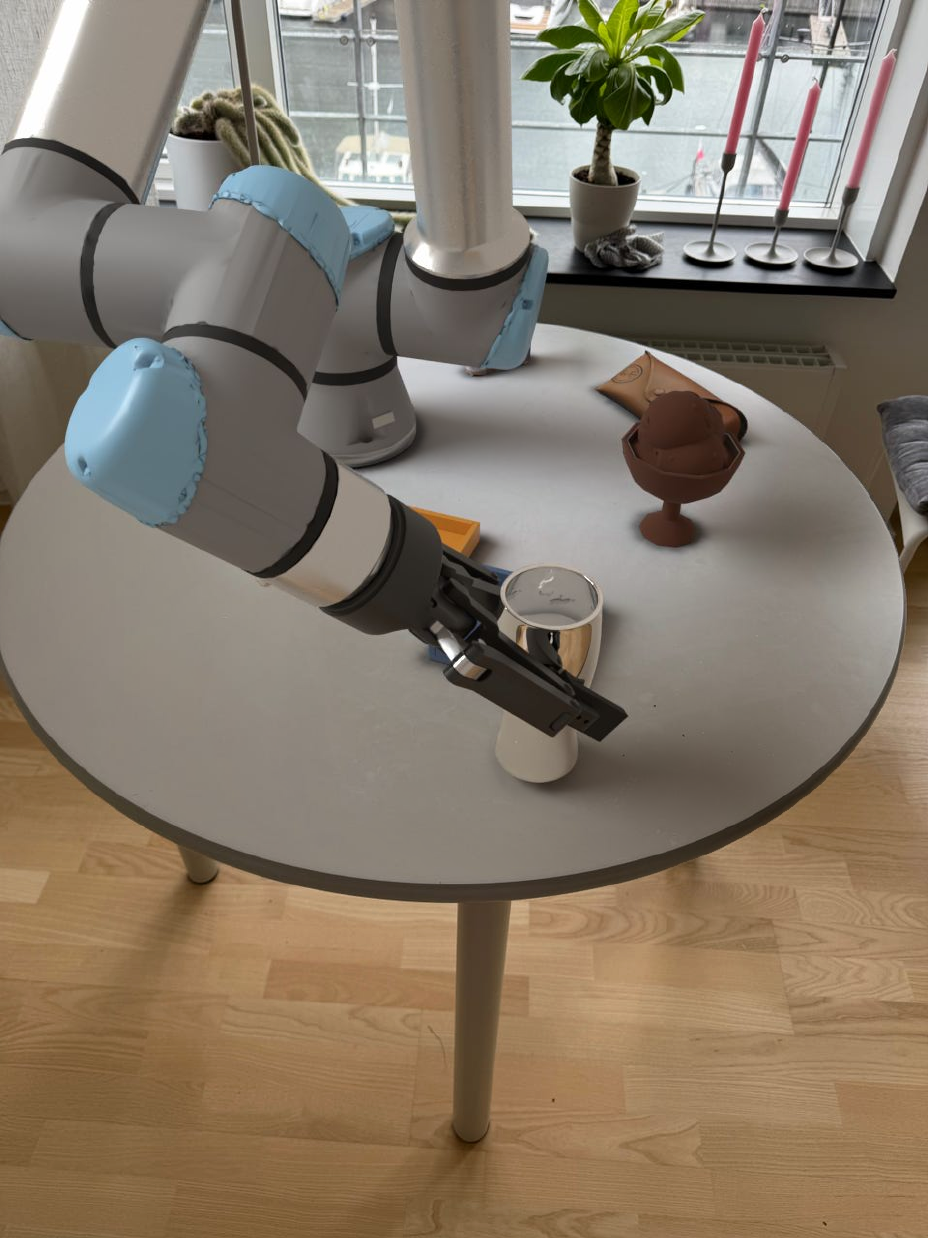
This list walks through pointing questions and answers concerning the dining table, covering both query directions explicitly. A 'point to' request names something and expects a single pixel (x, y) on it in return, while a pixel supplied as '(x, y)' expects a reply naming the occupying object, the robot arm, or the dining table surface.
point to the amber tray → (454, 530)
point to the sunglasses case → (664, 391)
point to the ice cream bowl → (679, 461)
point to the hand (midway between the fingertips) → (586, 687)
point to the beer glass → (548, 657)
